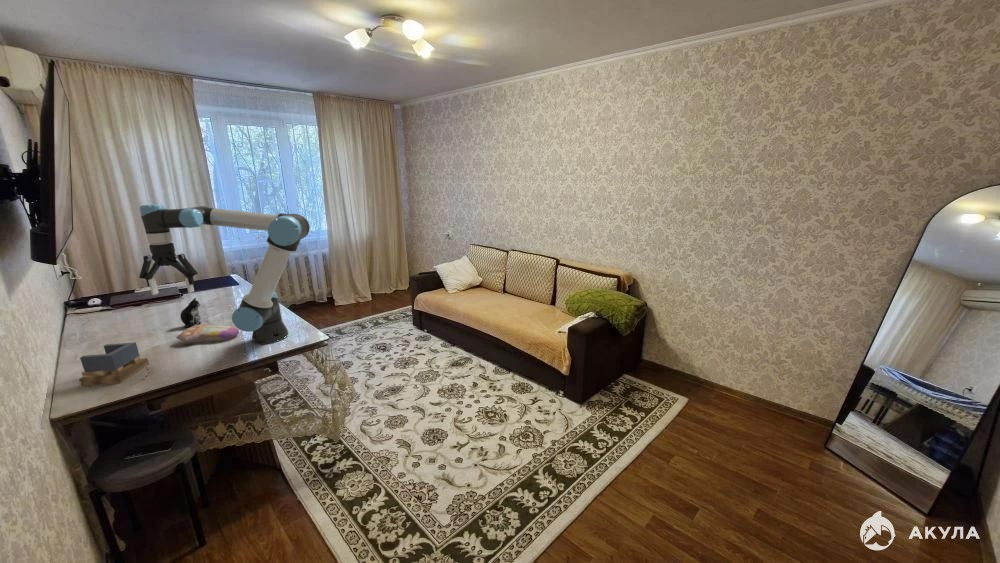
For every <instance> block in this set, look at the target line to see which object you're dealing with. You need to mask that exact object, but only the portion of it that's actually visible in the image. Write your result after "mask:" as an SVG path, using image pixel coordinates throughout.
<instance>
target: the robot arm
mask: <svg viewBox="0 0 1000 563" xmlns="http://www.w3.org/2000/svg"><path fill="white" fill-rule="evenodd" d="M139 211H140V218H141V221H142V224H143V226H144V227H143V228H144V231H145V235H146V239H147V243H148V244H149V250H150V253H151V254H152V255H151V254H147V255H144V256H143V257H142V258H143V263H142V267H141V269H140V273H139V279H144V280H145V281H146V285H147V287H148V288H150V292H151V295H152V296H155V295H157V294H159V292H160V291H159V288H158V286H157V281H156V278H154V276H155V274H156V273H157V272H158V270H159V268H160V267H164V266H166V267H170V266H171V267H173V268H175V269H177V271H179V272H180V273H181V274H182V275H184V276H185V278H184V281H185V284H186V288H187V293H188V294H192V293H194V292H195V289H194V284H195V279H194V277H195V276H196V275H198V271H197V270H196V269H195V268H194V267H193V265H192V264H191V263H190V262H189V260H188V259H187V257H186V255H185V254H184V253H180V254H176V253H175V252H176V249H175V246H174V242H173V238H172V234H171V229H182V228H184V229H185V228H189V229H193V228H199V227H201V226H202V225H203V226H204V225H206V226H218V227H227V228H236V229H237V228H238V229H247V230H254V231H265V232H267V234H268V236H267V239H266V243H267V244H268V247H267V249H266V252H265V255H264V257H263V260H262V262H261V264H260V266H259V269H258V271H257V274H256V276H255V279H254V281H253V284H252V285H251V289H250V291H249V293H247V294H244V296H243V297H242V299H241V301H240V304H239V307H238V308H236V309H235V310H234V311H233V313H232V314H231V315H232V316H231V322H232V323H233V324H234V327H235V328H237V329H238V330H239V331H242V332H246V333H247V332H249V333H250V332H252V335H251V339H252V343H254V344H256V343H257V344H258V345H263V344H262V343H267V344H271V343H270V342H273V343H275V342H274V341H277V340H280V339H282V338H284V337H285V336H287V335H288V334H289V331H288V327H287V326H286V325H285V323H284V321H283V319H282V312H281V307H280V302H279V297H278V293H277V292H276V290H277V289H276V288H277V286H278V284H279V281H280V279H281V277H282V274H283V272H284V270H285V268H286V265H287V262H288V260H289V258H290V256H291V254H292V253H295V252H296V251H297V250H298V246H299V245H300V242H301V241H302V240H303V239H304V238H306V237H307V236H308V234H309V232H310V223H309V221H308V220H307V218H306V217H305V216H303V215H301V214H298V213H282V212H281V213H280V212H279V213H278V214H269V213H260V212H250V211H243V210H242V211H241V210H233V209H226V208H225V209H223V208H214V207H210V206H206V205H199V206H193V207H187V208H186V207H184V208H169V209H168V208H165V205H164V204H161V203H160V204H159V203H158V204H152V203H151V204H142V205H140V206H139ZM152 260H153V261H154V263H152ZM151 264H152V266H151ZM150 267H151V268H150ZM288 336H289V335H288ZM288 336H287V337H288ZM284 339H285V338H284ZM282 340H283V339H282ZM280 341H281V340H280ZM277 342H278V341H277Z"/></svg>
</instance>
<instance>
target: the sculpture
mask: <svg viewBox="0 0 1000 563" xmlns="http://www.w3.org/2000/svg"><path fill="white" fill-rule="evenodd" d="M239 332H240V329H238V328H237V327H236V326H228V325H212V324H209V323H207V324H206V323H205V324H199V325H197V326H193V327H190V328H185V329H184V330H183V331H182V332H181V333H179V334H178V335H176V336H175V337H176V339H177V340H179V341H180V342H182V343H198V342H203V341H216V342H217V341H225V340H230V339H233V338H235V337H236V336H237V335H239Z"/></svg>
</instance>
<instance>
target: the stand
mask: <svg viewBox="0 0 1000 563" xmlns="http://www.w3.org/2000/svg"><path fill="white" fill-rule="evenodd" d="M149 365H150V362H149V358H148V357H144V358H143V357H142V358H140V356H138V357H137V358H135V359H133V360H131V361H130V362H128V363H126V364H125V365H123V366H121V367H120V368H118V369H116V370H105V371H92V372H85V371H84V370H83V371H82V372H81V376H82V377H80V378H79V382H80V385H81V386H82V387H87V386H99V385H101V386H102V385H110V384H122V383H123V382H124V381H126V380H128V379H129V378H131V377H132V376H134V375H135V374H137V373H138V372H140V371H141V370H143V369H145V368H146V367H149Z"/></svg>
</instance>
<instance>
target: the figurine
mask: <svg viewBox="0 0 1000 563" xmlns="http://www.w3.org/2000/svg"><path fill="white" fill-rule="evenodd" d="M201 305H202V304H201V303H200V301H198V300H197V297H194V298H193V299H192V300H191V301H189V303H188V305H187V306H186V307H184V308H183V309H182V310H181V312H180V320H181V322H182V323H183V324H184V326H183V327H184V328H185V329H188V328H190V327H193V326H197V325H202V320H201V315H200V311H199V307H201Z"/></svg>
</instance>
